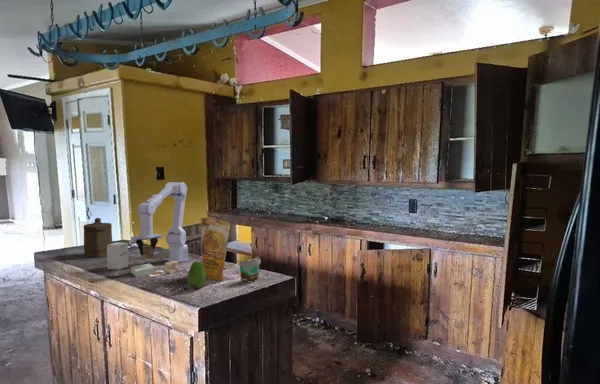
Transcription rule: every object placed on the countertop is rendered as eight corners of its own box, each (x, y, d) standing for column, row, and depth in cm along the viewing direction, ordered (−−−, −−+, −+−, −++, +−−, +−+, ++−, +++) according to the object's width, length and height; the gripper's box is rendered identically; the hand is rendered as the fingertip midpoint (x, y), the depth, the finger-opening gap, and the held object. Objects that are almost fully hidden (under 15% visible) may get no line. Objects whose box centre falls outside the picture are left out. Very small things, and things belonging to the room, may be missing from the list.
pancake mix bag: (206, 271, 187) (206, 216, 185) (232, 279, 175) (232, 220, 173) (195, 274, 182) (195, 218, 180) (221, 282, 170) (220, 222, 168)
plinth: (150, 269, 189) (149, 263, 189) (155, 273, 182) (155, 267, 182) (131, 273, 183) (130, 267, 183) (136, 277, 176) (135, 271, 176)
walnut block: (150, 255, 188) (150, 246, 188) (153, 257, 185) (153, 247, 185) (141, 257, 186) (140, 247, 185) (143, 259, 182) (143, 248, 182)
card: (161, 270, 188) (161, 269, 188) (167, 274, 182) (167, 273, 182) (145, 273, 183) (145, 272, 183) (150, 277, 177) (150, 276, 177)
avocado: (204, 290, 159) (204, 263, 158) (185, 290, 158) (185, 263, 157) (207, 284, 167) (207, 258, 166) (189, 284, 166) (189, 258, 165)
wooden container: (99, 251, 230) (98, 215, 228) (118, 253, 225) (117, 217, 223) (78, 256, 216) (77, 219, 214) (97, 258, 211) (96, 220, 209)
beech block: (173, 270, 189) (172, 260, 188) (178, 272, 186) (178, 262, 186) (165, 272, 185) (165, 262, 185) (170, 274, 183) (170, 264, 182)
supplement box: (119, 270, 189) (118, 245, 188) (106, 269, 190) (106, 244, 189) (129, 266, 196) (128, 242, 195) (116, 265, 197) (116, 241, 196)
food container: (249, 284, 167) (249, 263, 166) (239, 282, 170) (238, 261, 169) (265, 277, 177) (266, 257, 177) (255, 275, 181) (255, 255, 180)
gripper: (133, 229, 177) (133, 257, 177) (164, 226, 186) (164, 253, 187) (129, 227, 182) (129, 254, 183) (159, 224, 191) (159, 250, 192)
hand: (147, 253), depth 185 cm, fingers closed on walnut block, 4 cm apart
